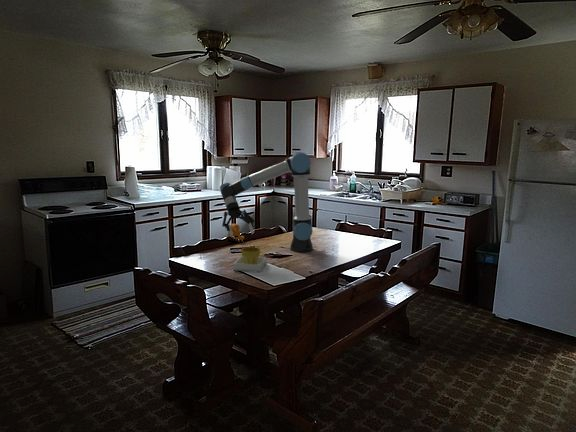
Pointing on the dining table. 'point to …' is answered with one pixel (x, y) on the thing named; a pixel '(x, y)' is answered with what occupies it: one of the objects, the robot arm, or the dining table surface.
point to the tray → (249, 265)
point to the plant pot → (250, 255)
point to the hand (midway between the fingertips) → (242, 234)
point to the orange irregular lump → (235, 232)
